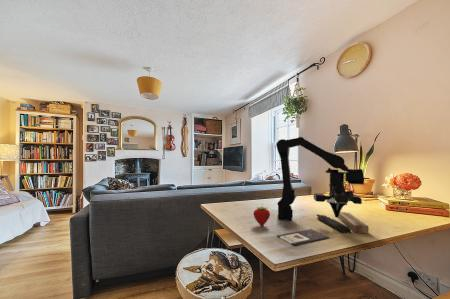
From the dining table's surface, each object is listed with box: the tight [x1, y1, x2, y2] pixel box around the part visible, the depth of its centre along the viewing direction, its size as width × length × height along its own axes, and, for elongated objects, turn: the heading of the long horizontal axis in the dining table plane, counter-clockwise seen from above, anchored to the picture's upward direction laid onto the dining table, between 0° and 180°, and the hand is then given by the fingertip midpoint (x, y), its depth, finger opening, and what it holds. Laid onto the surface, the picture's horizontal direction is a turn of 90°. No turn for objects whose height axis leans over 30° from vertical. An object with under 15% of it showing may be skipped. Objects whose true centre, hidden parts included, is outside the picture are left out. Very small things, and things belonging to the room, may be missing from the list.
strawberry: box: [253, 203, 271, 227], centre depth 92 cm, size 6×8×10 cm
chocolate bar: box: [276, 228, 331, 247], centre depth 80 cm, size 9×1×18 cm
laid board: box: [338, 211, 369, 234], centre depth 95 cm, size 6×20×3 cm, turn 168°
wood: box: [316, 214, 352, 234], centre depth 96 cm, size 22×7×3 cm, turn 6°
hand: (336, 217), depth 94 cm, fingers closed
